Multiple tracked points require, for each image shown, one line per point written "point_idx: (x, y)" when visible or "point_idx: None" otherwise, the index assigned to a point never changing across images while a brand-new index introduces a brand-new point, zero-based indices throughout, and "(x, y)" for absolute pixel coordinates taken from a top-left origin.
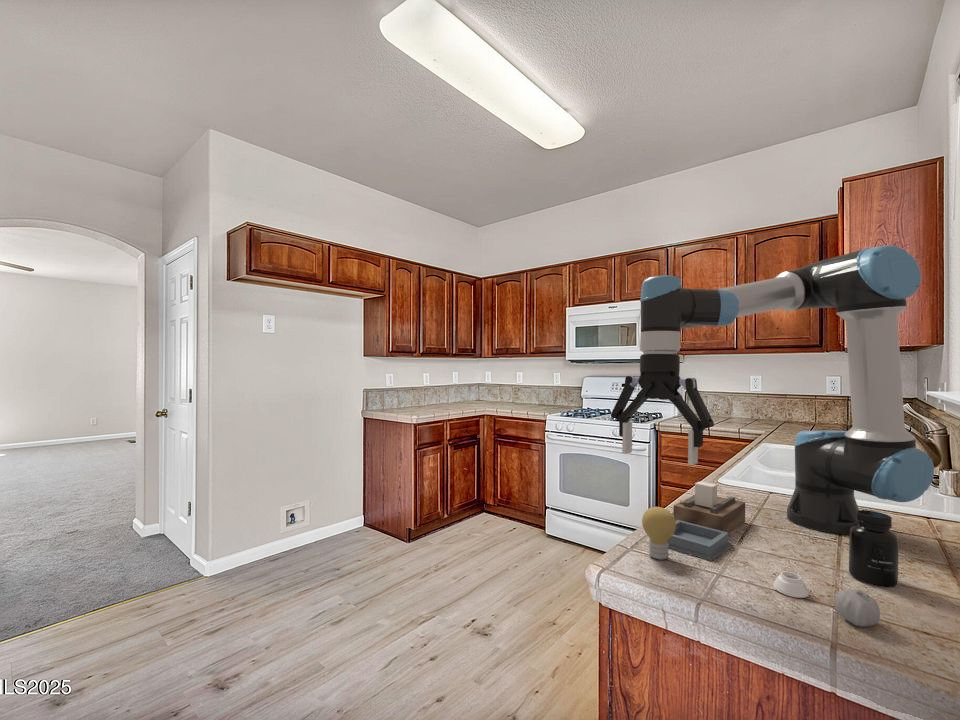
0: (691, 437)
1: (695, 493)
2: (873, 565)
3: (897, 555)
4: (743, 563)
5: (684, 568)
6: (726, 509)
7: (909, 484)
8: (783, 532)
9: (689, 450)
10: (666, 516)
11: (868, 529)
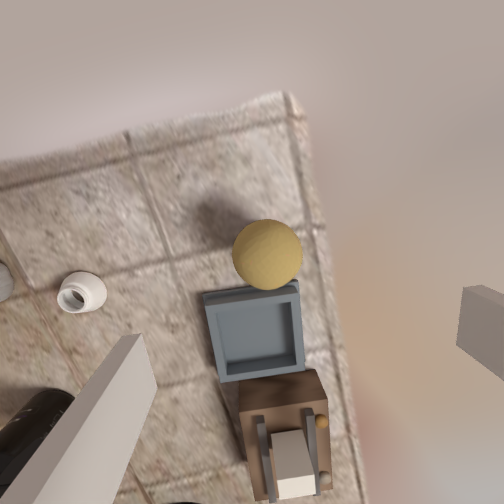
0: (8, 500)
1: (306, 451)
2: (23, 413)
3: None
4: (172, 324)
5: (211, 234)
6: (254, 448)
7: None
8: (200, 466)
9: (97, 389)
10: (243, 251)
11: None
